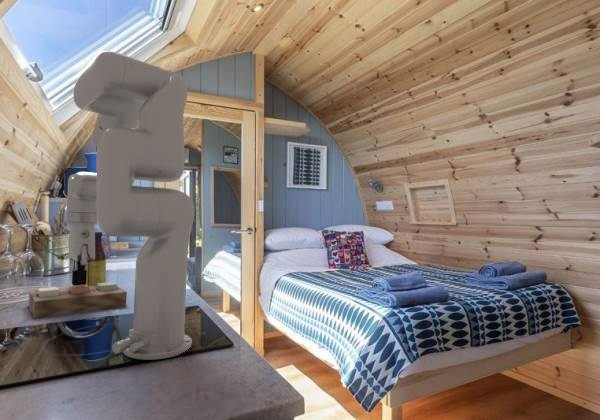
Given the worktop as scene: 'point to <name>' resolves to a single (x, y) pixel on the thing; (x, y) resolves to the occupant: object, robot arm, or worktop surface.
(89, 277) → the sauce bottle
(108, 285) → the sage button
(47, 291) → the cream button
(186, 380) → the worktop surface
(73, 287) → the terracotta button
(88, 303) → the button panel
